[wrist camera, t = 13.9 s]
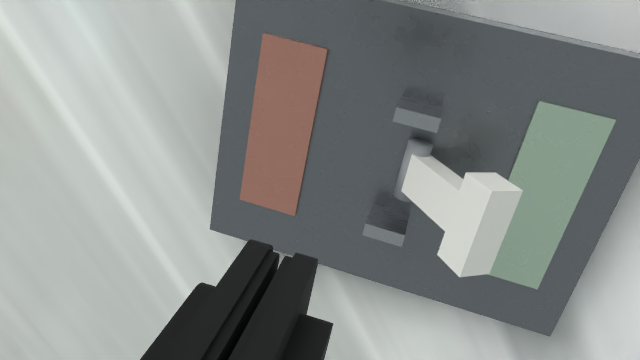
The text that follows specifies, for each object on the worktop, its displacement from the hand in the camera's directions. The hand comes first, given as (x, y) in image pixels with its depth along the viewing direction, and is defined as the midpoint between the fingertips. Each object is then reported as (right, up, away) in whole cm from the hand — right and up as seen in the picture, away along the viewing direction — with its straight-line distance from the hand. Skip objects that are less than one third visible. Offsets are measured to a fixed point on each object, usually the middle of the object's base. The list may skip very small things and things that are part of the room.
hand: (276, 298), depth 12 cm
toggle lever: (+7, +4, +26) cm, 27 cm away
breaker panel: (+9, +6, +31) cm, 32 cm away
